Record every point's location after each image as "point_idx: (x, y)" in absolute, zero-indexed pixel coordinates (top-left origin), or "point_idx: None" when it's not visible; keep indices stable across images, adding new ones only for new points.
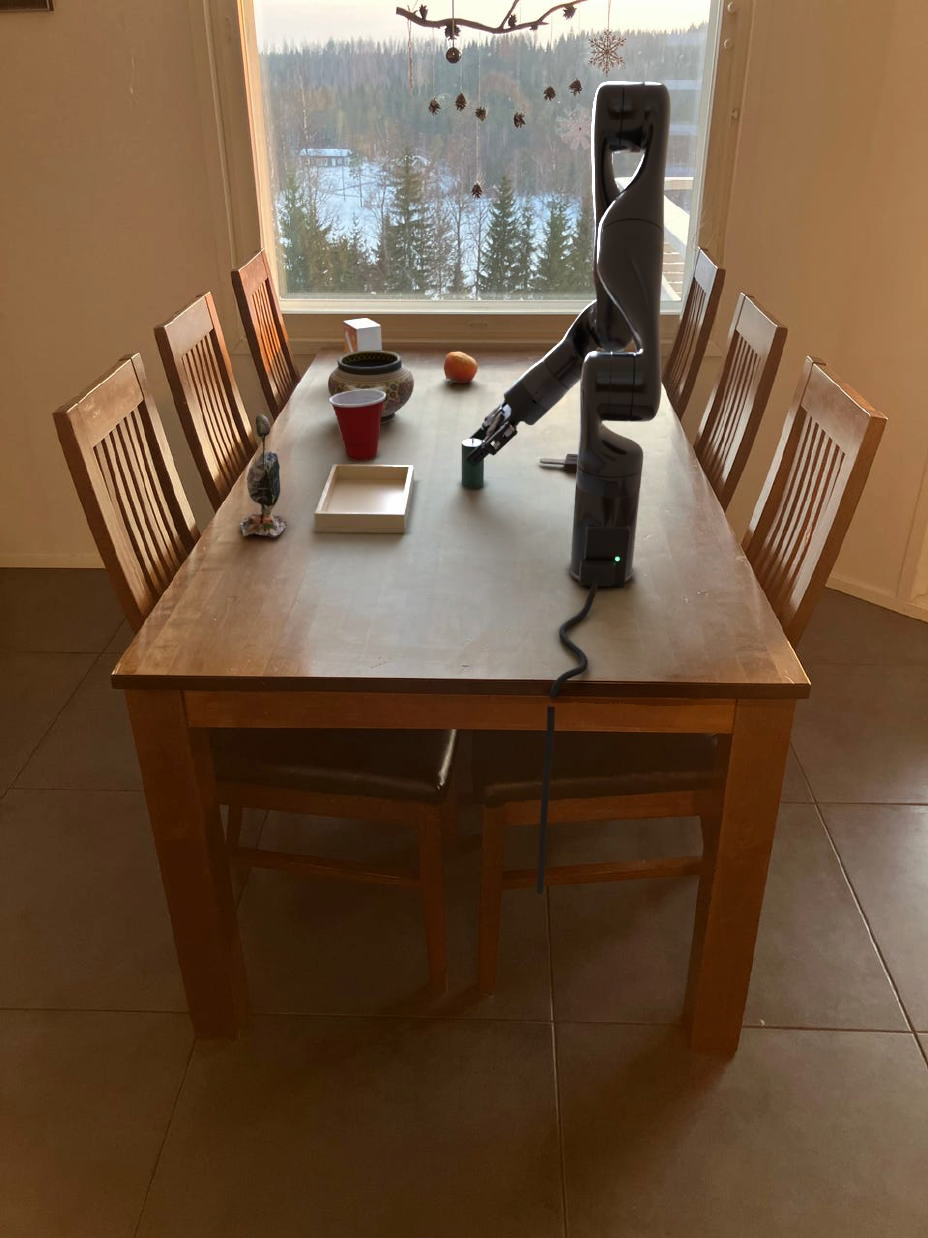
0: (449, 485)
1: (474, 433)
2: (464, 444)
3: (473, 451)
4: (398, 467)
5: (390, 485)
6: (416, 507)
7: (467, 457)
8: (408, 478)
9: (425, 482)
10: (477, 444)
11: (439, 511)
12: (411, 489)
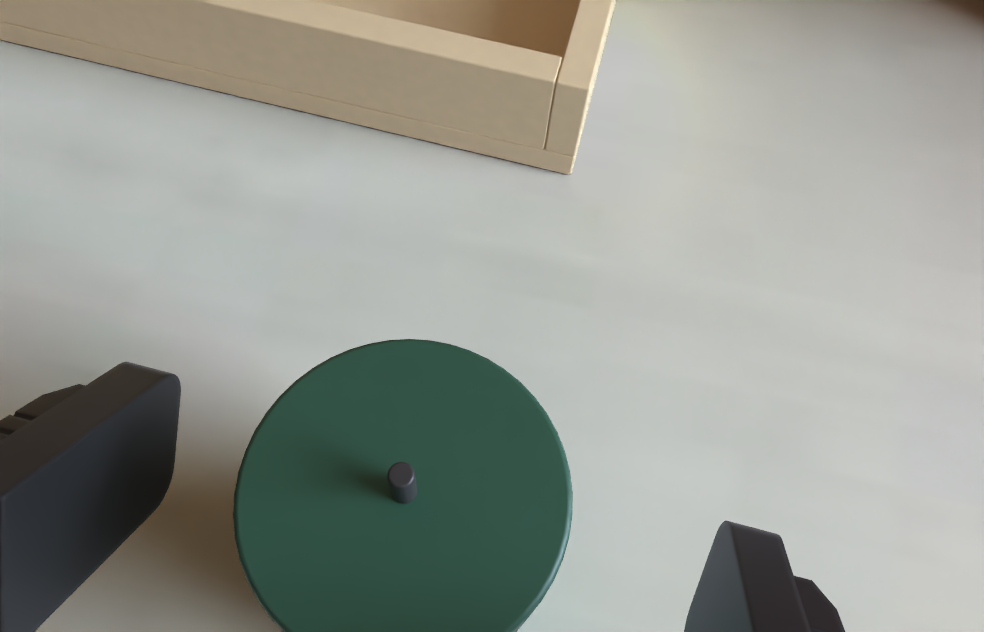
0: None
1: (785, 612)
2: (362, 360)
3: (47, 412)
4: (579, 4)
5: (477, 14)
6: (144, 114)
7: (119, 369)
8: (327, 14)
9: (553, 244)
10: (304, 540)
11: (13, 228)
12: (338, 93)
